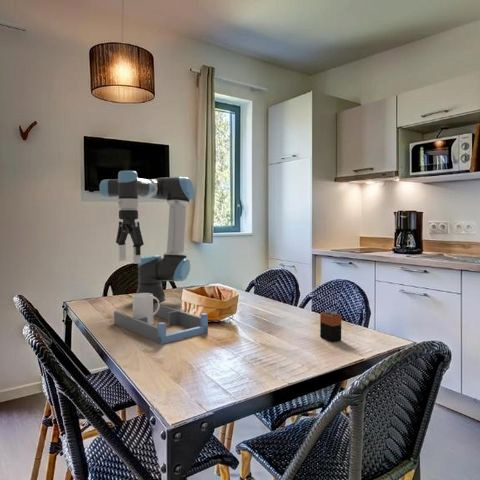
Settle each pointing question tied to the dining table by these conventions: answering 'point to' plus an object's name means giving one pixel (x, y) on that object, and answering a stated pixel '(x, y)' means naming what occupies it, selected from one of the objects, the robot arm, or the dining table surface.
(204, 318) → the blue bezel
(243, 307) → the dining table surface
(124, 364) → the dining table surface
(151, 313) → the mug
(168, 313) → the grey rectangular frame
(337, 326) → the battery
